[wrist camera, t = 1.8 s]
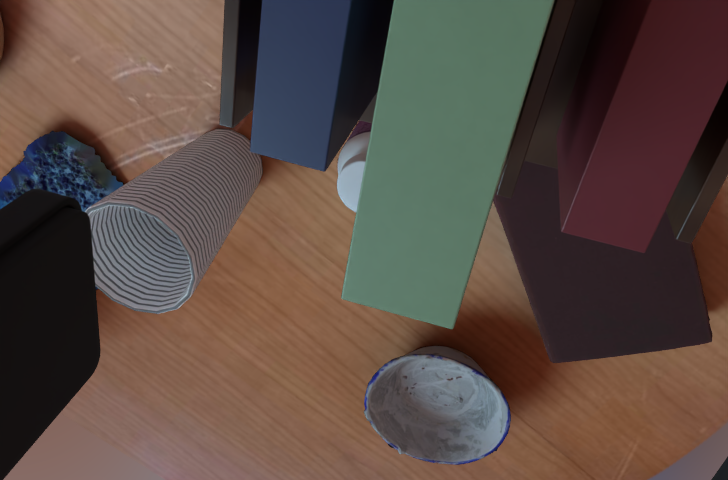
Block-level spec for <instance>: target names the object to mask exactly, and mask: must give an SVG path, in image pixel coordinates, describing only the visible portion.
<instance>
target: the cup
mask: <svg viewBox="0 0 728 480" xmlns="http://www.w3.org/2000/svg"><path fill="white" fill-rule="evenodd" d="M250 143H251V142H250V141H249V140H248V139H247V138H246V137H245V136H244V135H241V134H239V133H237V132H235V131H233V130H227V129H215V130H213V131H210V132H207V133H205V134H204V135H202V136H200V137H199V138H197V139H196V140H194V141H193V142H191V143H189V144H188V145H186V146H185V147H183V148H182V149H180V150H178V151H177V152H175V153H174V154H172V155H171V156H169V157H167V158H166V159H164V160H163V161H161V162H160V163H158V164H156V165H155V166H153V167H152V168H150V169H148V170H147V171H145V172H144V173H142V174H141V175H139V176H137V177H136V178H134V179H133V180H131V181H130V182H128V183H126V184H125V185H123V186H122V187H120V188H119V189H117V190H115V191H114V192H112V193H111V194H109V195H108V196H106V197H104V198H103V199H101V200H100V201H98V202H97V203H95V204H93V205H92V206H90V207H89V208H88V209H87V210H86V211H85V212H86V213H87V214H88V216H89V218H90V223H91V235H92V248H93V261H94V274H95V286H96V287H97V288H98V289H100V290H101V291H102V292H103V293H104V294H106V295H107V296H108V297H109V298H110V299H112V300H113V301H115V302H117V303H119V304H122V305H124V306H126V307H128V308H130V309H132V310H134V311H141V312H149V313H156V314H159V313H163V312H167V311H171V310H175V309H178V308H179V307H180V306H181V305H182V304H183V303H185V302H186V301H187V300H188V299H189V298H190V297H191V296H192V294H193V293H194V291H195V289H196V288H197V286H198V284H199V283H200V281H201V279H202V278H203V276H204V274H205V273H206V271H207V269H208V268H209V266H210V264H211V263H212V261H213V259H214V258H215V256H216V254H217V253H218V251H219V249H220V248H221V246H222V244H223V243H224V241H225V239H226V238H227V236H228V234H229V233H230V231H231V229H232V228H233V226H234V224H235V223H236V221H237V219H238V218H239V216H240V214H241V213H242V211H243V209H244V208H245V206H246V204H247V203H248V201H249V199H250V198H251V196H252V194H253V193H254V191H255V189H256V188H257V186H258V184H259V182H260V179H261V176H262V173H263V169H262V159H261V157H260V155H259V154H256V153H253V152H250Z"/></svg>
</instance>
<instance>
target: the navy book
mask: <svg viewBox="0 0 728 480" xmlns="http://www.w3.org/2000/svg"><path fill="white" fill-rule="evenodd" d="M393 3H394V0H262V10H261V22H260V34H259V46H258V58H257V70H256V82H255V94H254V107H253V119H252V131H251V143H250V152H253V153H256V154H260V155H264V156H268V157H271V158H275V159H279V160H283V161H286V162H290V163H294V164H298V165H301V166H305V167H309V168H313V169H316V170H320V171H326V169H327V168H328V166H329V165H330V163H331V162H332V160H333V159H334V157H335V156H336V154H337V153H338V151H339V149H340V148H341V146H342V145H343V143H344V142H345V140H346V139H347V137H348V136H349V134H350V133H351V131H352V130H353V128H354V127H355V125H356V124H357V122H358V121H359V119H360V117H361V116H362V114H363V113H364V111H365V110H366V108H367V107H368V105H369V104H370V102H371V101H372V99H373V98H374V96H375V95H376V93H377V88H378V83H379V78H380V73H381V67H382V62H383V57H384V52H385V46H386V41H387V36H388V31H389V25H390V20H391V15H392V9H393Z"/></svg>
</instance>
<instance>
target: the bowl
mask: <svg viewBox="0 0 728 480" xmlns="http://www.w3.org/2000/svg"><path fill="white" fill-rule="evenodd" d="M364 405H365V411H364V414H365V416H366V418H367V420H368V421H370V423H371V425H372V427H373V428H374V429H375V431H376V432H377V433H378V434H379V435H380V436H381V437H382V438H383V439H384V440H385V441H386V442H387V443H388V445H389V446H390V447H392V448H394V449H396V450H398V452H399V453H400V454H404V453H405V454H407V455H409V456H412V457H413V458H417V459H420V460H423V461H428V462H433V463H439V464H456V465H459V464H465V463H470V462H473V461H477V460H479V459H481V458H484V457H485V456H487V455H489V454H491V453H493V452H494V451H497V449H498V447H499V446H500V445H501V443H502V442H503V441H504V439H505V437H506V436H507V434H508V431H509V427H510V421H511V414H510V408H509V405H508V402H507V400H506V398H505V396H504V394H503V393H502V391H501V390H500V389H499V387H498V386H497V385H496V384H495V383H494V382H493V381H492V380H491V379H490V378H489V377H488V376H487V375H486V374H485V372H484V371H483V370H482V369H481V367H480V366H479V365H478V364H477V363H476V362H475V361H474V360H473V359H472V358H470V357H469V356H467V355H466V354H464V353H462V352H460V351H458V350H456V349H453V348H449V347H444V346H429V347H423V348H420V349H417V350H415V351H413V352H410V353H409V354H407V355H404V356H400V357H398V358H395V359H392V360H391V361H389V362H388V363H386V364H385V365H384V366H383V367H381V368H380V369H379V370H378V371H377V372H376V373H375V374H374V376H373V377H372V379H371V380H370V382H369V383H368V387H367V390H366V394H365V402H364Z"/></svg>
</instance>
